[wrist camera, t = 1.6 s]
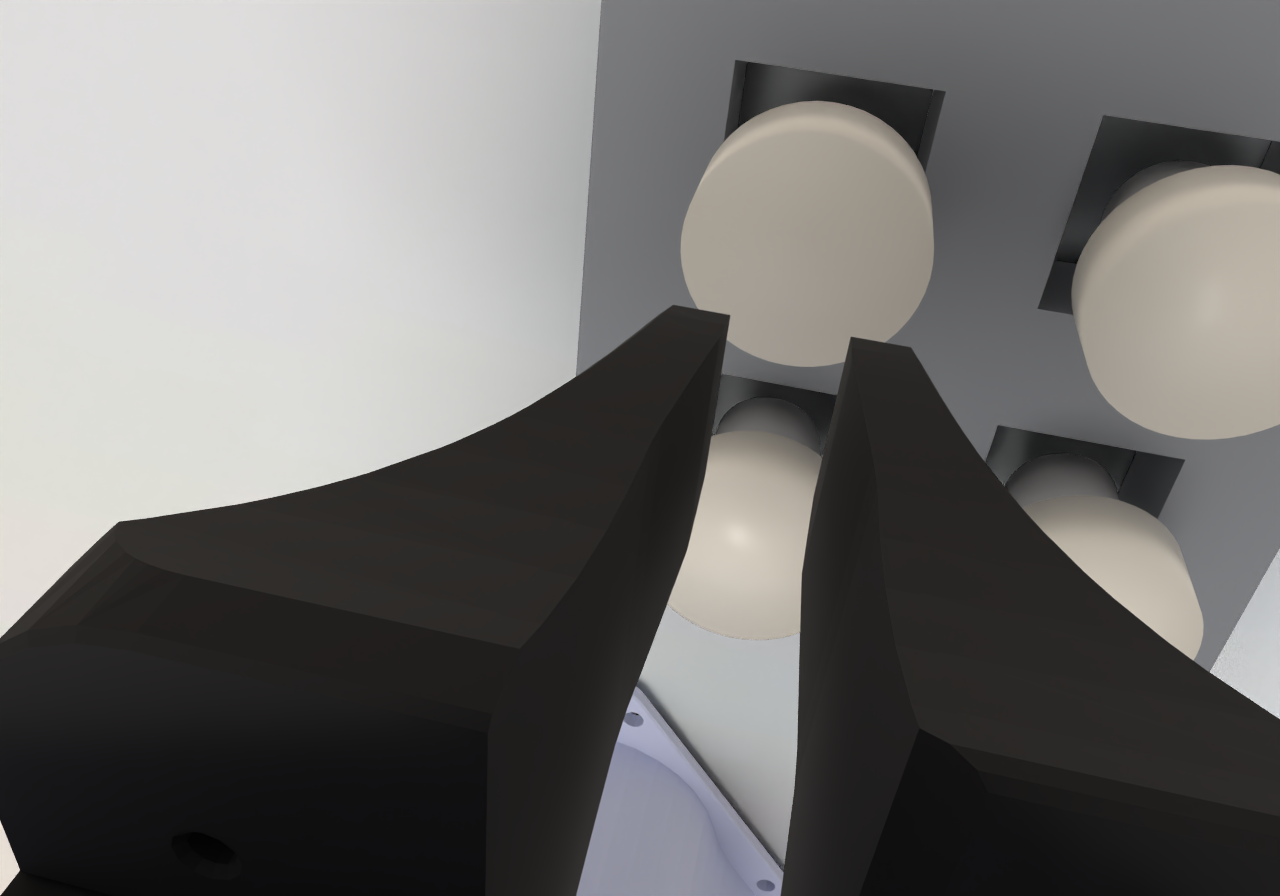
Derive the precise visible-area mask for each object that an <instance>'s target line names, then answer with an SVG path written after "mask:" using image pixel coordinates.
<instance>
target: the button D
mask: <svg viewBox="0 0 1280 896" xmlns="http://www.w3.org/2000/svg"><path fill="white" fill-rule="evenodd" d="M1071 299H1072V310H1073V315H1074V320H1075V324H1076V327H1077V331H1078V334H1079V338H1080V341H1081V345H1082V348H1083V352H1084V355H1085V359H1086V362H1087V366H1088V369H1089V371H1090V374H1091V377H1092V379H1093V381H1094V383H1095V385H1096V386H1097V388H1098V390H1099V391H1100V393H1101V394H1102V395H1103V397H1104V398H1105V399H1106V400H1107V402H1108V403H1109V404H1111V405H1112V406H1113V407H1114V408H1115V409H1116V410H1117V411H1118V412H1119V413H1121V414H1122V415H1124V416H1125V417H1126V418H1128V419H1129V420H1131V421H1133V422H1135V423H1136V424H1138V425H1140V426H1142V427H1144V428H1147V429H1150V430H1152V431H1155V432H1158V433H1161V434H1165V435H1169V436H1173V437H1179V438H1187V439H1204V440H1212V439H1225V438H1233V437H1238V436H1244V435H1249V434H1252V433H1256V432H1259V431H1263V430H1266V429H1269V428H1271V427H1274V426H1277V425H1279V424H1280V175H1279V174H1277V173H1274V172H1271V171H1269V170H1264V169H1259V168H1255V167H1249V166H1238V165H1220V166H1208V165H1205V164H1203V163H1199V162H1194V161H1185V160H1179V161H1169V162H1163V163H1159V164H1156V165H1153V166H1150V167H1148V168H1146V169H1144V170H1142V171H1140V172H1138V173H1136V174H1135V175H1133V176H1132V177H1130V178H1129V179H1128V180H1127V181H1125V182H1124V183H1123V184H1122V185H1121V186H1120V187H1119V188H1118V189H1117V190H1116V192H1115V193H1114V194H1113V195H1112V197H1111V198H1110V200H1109V202H1108V203H1107V205H1106V207H1105V210H1104V212H1103V216H1102V219H1101V224H1100V225H1099V226H1098V227H1097V229H1096V230H1095V231H1094V233H1093V234H1092V235H1091V237H1090V238H1089V240H1088V242H1087V244H1086V245H1085V247H1084V249H1083V251H1082V253H1081V255H1080V258H1079V260H1078V262H1077V265H1076V269H1075V273H1074V276H1073V282H1072V290H1071Z"/></svg>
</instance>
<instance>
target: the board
mask: <svg viewBox="0 0 1280 896" xmlns="http://www.w3.org/2000/svg"><path fill="white" fill-rule="evenodd" d="M747 62H754V63H760V64H767V65H774V66H780V67H787V68H794V69H800V70H807V71H814V72H820V73H827V74H833V75H840V76H847V77H853V78H860V79H867V80H873V81H880V82H887V83H893V84H900V85H906V86H913V87H920V88H926V89H933V94H932V98H931V102H930V106H929V110H928V114H927V118H926V122H925V126H924V130H923V135H922V139H921V143H920V147H919V151H918V155H917V158H918V160H919V161H920V163H921V165H922V167H923V170H924V172H925V175H926V177H927V181H928V185H929V189H930V193H931V203H932V217H933V236H934V259H933V267H932V272H931V277H930V281H929V283H928V286H927V289H926V292H925V294H924V296H923V298H922V300H921V302H920V304H919V306H918V308H917V309H916V311H915V312H914V313H913V315H912V316H911V318H910V319H909V320H908V321H907V323H906V324H905V325H904V326H903V327H902V328H901V329H900V330H899V331H898V332H897V333H896V334H895V335H894V336H892V337H891V338H890V339H889V340H888V341H886V342H885V343H890V344H896V345H901V346H907V347H911V348H912V350H913V351H914V353H915V354H916V356H917V358H918V359H919V361H920V362H921V364H922V365H923V367H924V369H925V371H926V372H927V374H928V376H929V377H930V379H931V381H932V382H933V384H934V386H935V387H936V389H937V391H938V392H939V394H940V396H941V397H942V399H943V401H944V402H945V404H946V405H947V407H948V409H949V410H950V412H951V414H952V415H953V417H954V418H955V420H956V421H957V423H958V424H959V426H960V427H961V429H962V430H963V432H964V433H965V435H966V436H967V438H968V439H969V441H970V442H971V443H972V445H973V446H974V448H975V449H976V451H977V452H978V453H979V455H980V456H981V458H982V459H983V460H984V462H986V459H987V456H988V453H989V450H990V447H991V444H992V441H993V438H994V435H995V432H996V429H997V426H998V425H1001V426H1006V427H1011V428H1017V429H1022V430H1027V431H1033V432H1038V433H1044V434H1049V435H1054V436H1060V437H1065V438H1071V439H1076V440H1081V441H1087V442H1092V443H1098V444H1103V445H1108V446H1114V447H1119V448H1125V449H1130V450H1135V451H1137V452H1136V454H1135V456H1134V459H1133V461H1132V463H1131V465H1130V468H1129V470H1128V472H1127V475H1126V477H1125V479H1124V481H1123V484H1122V486H1121V488H1120V491H1119V493H1118V498H1119V501H1123V502H1126V503H1128V504H1131V505H1134V506H1136V507H1138V508H1140V509H1142V510H1144V511H1146V512H1148V513H1149V514H1151V515H1152V516H1153V517H1155V518H1156V519H1158V520H1159V521H1160V522H1161V523H1162V524H1163V525H1164V526H1165V527H1167V529H1168V530H1169V531H1170V532H1171V534H1172V535H1173V536H1174V538H1175V540H1176V541H1177V543H1178V545H1179V547H1180V550H1181V553H1182V555H1183V558H1184V561H1185V564H1186V567H1187V570H1188V573H1189V576H1190V579H1191V582H1192V585H1193V588H1194V591H1195V594H1196V597H1197V600H1198V603H1199V606H1200V609H1201V612H1202V617H1203V624H1204V627H1203V638H1202V642H1201V646H1200V648H1199V651H1198V653H1197V655H1196V657H1195V659H1194V660H1193V661H1195V662H1196V663H1197V664H1199V665H1200V666H1201V667H1203V668H1204V669H1205V670H1207V671H1208V672H1210V670H1211V668H1212V667H1213V665H1214V663H1215V661H1216V659H1217V658H1218V656H1219V654H1220V652H1221V651H1222V649H1223V647H1224V645H1225V644H1226V642H1227V640H1228V638H1229V636H1230V635H1231V633H1232V631H1233V629H1234V628H1235V626H1236V624H1237V622H1238V621H1239V619H1240V617H1241V615H1242V613H1243V612H1244V610H1245V608H1246V606H1247V605H1248V603H1249V601H1250V599H1251V598H1252V596H1253V594H1254V592H1255V591H1256V589H1257V587H1258V585H1259V583H1260V582H1261V580H1262V578H1263V576H1264V575H1265V573H1266V571H1267V569H1268V568H1269V566H1270V564H1271V562H1272V560H1273V559H1274V557H1275V555H1276V553H1277V552H1278V550H1279V548H1280V424H1279V425H1277V426H1274V427H1271V428H1269V429H1266V430H1263V431H1259V432H1256V433H1252V434H1249V435H1244V436H1238V437H1233V438H1225V439H1212V440H1204V439H1187V438H1179V437H1173V436H1169V435H1165V434H1161V433H1158V432H1155V431H1152V430H1150V429H1147V428H1144V427H1142V426H1140V425H1138V424H1136V423H1135V422H1133V421H1131V420H1129V419H1128V418H1126V417H1125V416H1124V415H1122V414H1121V413H1119V412H1118V411H1117V410H1116V409H1115V408H1114V407H1113V406H1112V405H1111V404H1109V403H1108V402H1107V400H1106V399H1105V398H1104V397H1103V395H1102V394H1101V393H1100V391H1099V390H1098V388H1097V386H1096V385H1095V383H1094V381H1093V379H1092V377H1091V374H1090V371H1089V369H1088V366H1087V362H1086V359H1085V355H1084V352H1083V348H1082V345H1081V341H1080V338H1079V334H1078V331H1077V327H1076V324H1075V320H1074V315H1073V310H1072V299H1071V290H1072V282H1073V276H1074V273H1075V269H1076V265H1077V264H1073V263H1067V262H1061V261H1055V260H1054V259H1055V256H1056V253H1057V250H1058V247H1059V244H1060V241H1061V238H1062V235H1063V232H1064V230H1065V227H1066V224H1067V221H1068V218H1069V215H1070V212H1071V209H1072V206H1073V203H1074V200H1075V197H1076V194H1077V191H1078V188H1079V185H1080V183H1081V180H1082V177H1083V174H1084V171H1085V168H1086V165H1087V162H1088V159H1089V156H1090V153H1091V150H1092V147H1093V144H1094V141H1095V138H1096V136H1097V133H1098V130H1099V127H1100V124H1101V121H1102V118H1103V115H1105V116H1112V117H1119V118H1125V119H1132V120H1139V121H1145V122H1152V123H1159V124H1165V125H1172V126H1178V127H1185V128H1192V129H1198V130H1205V131H1212V132H1218V133H1225V134H1232V135H1238V136H1245V137H1251V138H1258V139H1265V140H1271V141H1272V143H1271V145H1270V147H1269V149H1268V152H1267V154H1266V156H1265V159H1264V161H1263V163H1262V165H1261V168H1260V169H1264V170H1269V171H1271V172H1274V173H1277V174H1279V175H1280V0H602V2H601V16H600V31H599V46H598V61H597V75H596V90H595V105H594V120H593V134H592V149H591V164H590V179H589V194H588V208H587V223H586V238H585V253H584V267H583V282H582V297H581V312H580V326H579V341H578V356H577V371H576V376H578V375H579V374H581V373H582V372H583V371H585V370H586V369H588V368H589V367H590V366H592V365H593V364H595V363H596V362H597V361H599V360H600V359H602V358H603V357H604V356H606V355H607V354H609V353H610V352H611V351H613V350H614V349H615V348H617V347H618V346H619V345H621V344H622V343H623V342H624V341H626V340H627V339H628V338H630V337H631V336H632V335H634V334H635V333H636V332H637V331H639V330H640V329H641V328H642V327H644V326H645V325H646V324H647V323H649V322H650V321H651V320H652V319H654V318H655V317H656V316H658V315H659V314H660V313H662V312H663V311H665V310H666V309H667V308H669V307H670V306H672V305H678V306H683V307H689V308H694V309H698V308H697V306H696V304H695V302H694V301H693V299H692V297H691V295H690V292H689V290H688V287H687V284H686V282H685V278H684V274H683V269H682V263H681V251H680V250H681V235H682V229H683V224H684V220H685V217H686V214H687V211H688V208H689V206H690V203H691V201H692V199H693V197H694V195H695V192H696V190H697V188H698V186H699V184H700V182H701V179H702V177H703V175H704V173H705V171H706V169H707V167H708V165H709V163H710V161H711V159H712V157H713V156H714V154H715V153H716V151H717V150H718V149H719V147H720V146H721V145H722V143H723V142H724V141H725V140H726V139H727V138H728V137H729V136H730V135H731V134H732V133H733V132H734V131H735V130H737V128H738V121H739V114H740V107H741V101H742V94H743V87H744V80H745V73H746V66H747ZM844 363H845V362H842V363H837V364H833V365H827V366H817V367H797V366H789V365H782V364H778V363H774V362H770V361H766V360H764V359H761V358H758V357H755V356H753V355H751V354H749V353H747V352H745V351H743V350H741V349H739V348H738V347H736V346H735V345H733V344H732V343H730V342H729V341H727V340H726V347H725V353H724V359H723V366H722V372H721V374H726V375H731V376H736V377H742V378H747V379H752V380H758V381H763V382H769V383H774V384H779V385H785V386H790V387H796V388H801V389H806V390H812V391H817V392H823V393H828V394H833V395H837V393H838V389H839V385H840V380H841V376H842V372H843V367H844Z"/></svg>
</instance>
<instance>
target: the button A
mask: <svg viewBox="0 0 1280 896" xmlns="http://www.w3.org/2000/svg"><path fill="white" fill-rule="evenodd" d="M819 452H820V437H819V433H818V430H817V428H816V426H815V424H814V422H813V421H812V419H811V418H810V417H809V416H808V415H807V413H805V412H804V411H803V410H802V409H800V408H799V407H797V406H796V405H794V404H792V403H790V402H787V401H785V400H781V399H777V398H771V397H760V398H753V399H748V400H746V401H743V402H741V403H739V404H737V405H735V406H734V407H732V408H731V409H730V410H729V411H728V412H727V413H726V414H725V415H724V416H723V418H722V420H721V421H720V423H719V426H718V429H717V433H716V435H714V436H711V442H710V448H709V455H708V461H707V467H706V474H705V478H704V482H703V487H702V491H701V495H700V499H699V504H698V508H697V512H696V516H695V520H694V524H693V528H692V533H691V537H690V541H689V545H688V549H687V552H686V555H685V557H684V560H683V563H682V565H681V568H680V571H679V574H678V576H677V579H676V582H675V584H674V587H673V590H672V592H671V595H670V597H669V600H668V603H667V604H668V605H669V606H670V607H671V608H672V609H673V610H674V611H676V612H677V613H678V614H679V615H681V616H682V617H683V618H685V619H687V620H688V621H690V622H692V623H693V624H695V625H697V626H699V627H701V628H703V629H706V630H708V631H711V632H714V633H716V634H720V635H724V636H727V637H732V638H738V639H747V640H769V639H777V638H782V637H786V636H791V635H794V634H797V633H799V632H800V618H801V582H802V569H803V562H804V555H805V548H806V542H807V535H808V529H809V522H810V516H811V509H812V503H813V496H814V492H815V488H816V483H817V479H818V475H819V471H820V466H821V462H822V457H821V456H820V455H819Z"/></svg>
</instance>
